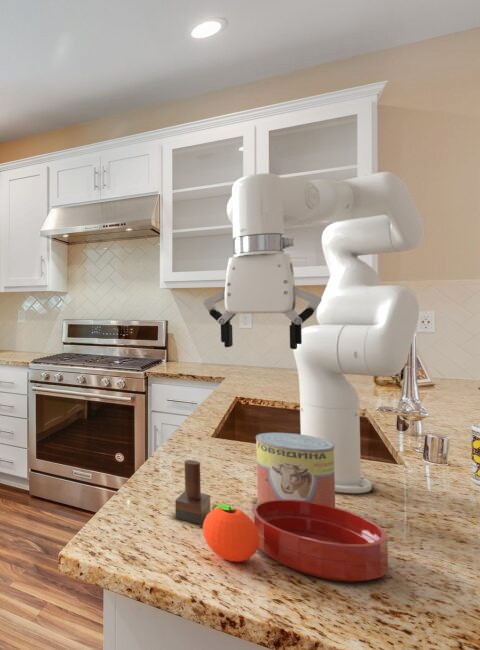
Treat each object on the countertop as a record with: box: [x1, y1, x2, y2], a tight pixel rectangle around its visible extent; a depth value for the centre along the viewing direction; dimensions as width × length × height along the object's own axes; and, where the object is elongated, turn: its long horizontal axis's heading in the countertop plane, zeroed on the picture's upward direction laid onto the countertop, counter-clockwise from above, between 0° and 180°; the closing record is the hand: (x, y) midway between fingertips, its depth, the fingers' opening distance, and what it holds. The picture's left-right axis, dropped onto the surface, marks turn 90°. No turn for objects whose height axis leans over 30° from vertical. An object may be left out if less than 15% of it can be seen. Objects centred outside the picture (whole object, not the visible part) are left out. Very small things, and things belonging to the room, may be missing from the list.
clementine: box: [202, 503, 259, 562], centre depth 67 cm, size 8×7×7 cm
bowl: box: [251, 499, 389, 583], centre depth 67 cm, size 15×15×5 cm
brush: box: [174, 459, 212, 525], centre depth 80 cm, size 6×4×9 cm, turn 140°
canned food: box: [255, 431, 336, 507], centre depth 82 cm, size 11×11×12 cm
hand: (259, 347), depth 81 cm, fingers open, 9 cm apart
